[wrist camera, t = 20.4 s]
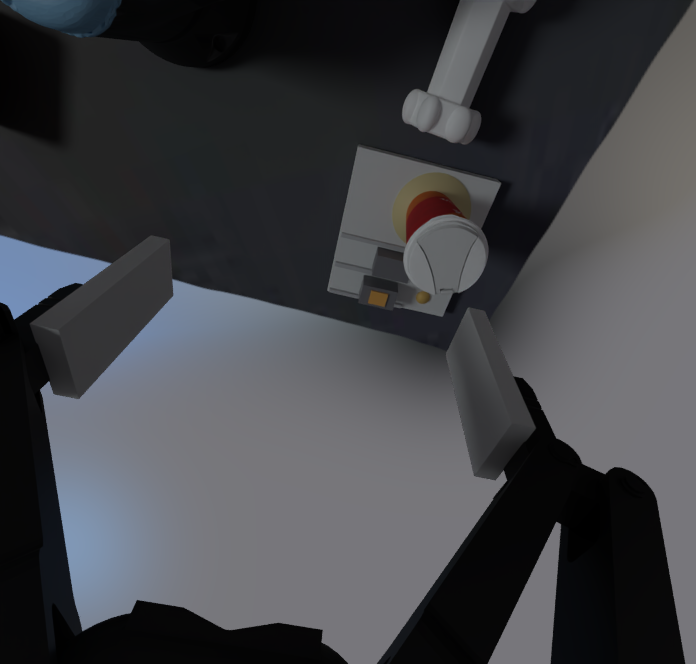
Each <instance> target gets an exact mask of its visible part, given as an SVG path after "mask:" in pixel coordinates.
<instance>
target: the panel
mask: <svg viewBox="0 0 696 664" xmlns="http://www.w3.org/2000/svg"><path fill="white" fill-rule="evenodd" d="M500 185H501V182H499V181H498V180H497V179H494V178H490V177H486V176H482V175H478V174H474V173H471V172H467V171H463V170H459V169H455V168H451V167H447V166H443V165H439V164H435V163H431V162H428V161H424V160H420V159H416V158H412V157H408V156H404V155H400V154H396V153H392V152H388V151H385V150H381V149H377V148H373V147H369V146H365V145H361V144H359V145H358V149H357V154H356V158H355V163H354V168H353V172H352V177H351V182H350V186H349V191H348V196H347V200H346V205H345V210H344V214H343V219H342V224H341V228H340V233H339V238H338V243H337V247H336V252H335V257H334V261H333V266H332V271H331V275H330V280H329V285H328V289H327V291H329V292H331V293H335V294H340V295H344V296H348V297H353V298H357V299H359V291H360V288H361V284H362V280H363V276H364V275H366V276H371V277H375V278H379V279H384V280H388V281H392V282H397V283H398V296H397V298H396V301H395V304H394V307H397V308H401V307H402V308H406V309H411V310H415V311H420V312H424V313H429V314H433V315H437V316H442V317H443V314H444V312H445V310H446V308H447V305H448V303H449V301H450V299H451V296H452V294H446V295H441V294H435V295H433V294H430V293H427V292H425V291H423V290H421V289H420V288H418V287H417V286H415V285H414V284H413V283H412V282H411V280H410V279H409V278H408V276H407V274H406V272H405V268H404V263H403V257H404V251H405V247H406V213H407V209H408V207H409V205H410V203H411V201H412V200H413V199H414V198H415V197H416V196H418V195H419V194H421V193H423V192H427V191H437V192H440V193H442V194H444V195H446V196H447V197H448V198H449V199H450V200H451V201H452V202H453V203H454V204H455V206H456V207H457V208H458V209H459V210H460V211H461V212H462V214H463V215H464V216H465V217H466V218H467V219H468V220H470V221H472V222H473V223H475V224H476V225H477V226H478V227H479V228H480V229H481V228H482V226H483V224H484V221H485V219H486V217H487V215H488V212H489V210H490V208H491V205H492V203H493V201H494V199H495V196H496V194H497V192H498V190H499V187H500Z"/></svg>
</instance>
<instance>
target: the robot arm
mask: <svg viewBox="0 0 696 664" xmlns="http://www.w3.org/2000/svg"><path fill="white" fill-rule="evenodd" d="M1 1H2V2H3V3H5V4H6V5H7V6H10V7H11V8H12V9H13V10H14V11H16V12H18V13H20V14H21V15H23V16H24V17H25V18H27V19H29V20H31V21H33V22H35V23H37V24H39V25H42V26H44V27H48V28H51V29H55V30H58V31H61V32H63V33H67V34H69V35H71V36H77V37H80V38H83V37H104V38H113V39H122V40H131V41H139V42H140V43H141V44H142V45H143V46H145V47H146V48H147V49H148V50H150V51H151V52H152V53H154V54H155V55H157V56H159V57H160V58H162V59H164V60H166V61H169V62H171V63H174V64H177V65H181V66H186V67H209V66H213V65H216V64H219V63H221V62H223V61H225V60H226V59H228V58H229V57H231V56H232V55H233V54H234V53H235V52H236V51H237V50H238V49H239V47H240V46H241V45H242V43H243V42H244V40H245V38H246V37H247V35H248V32H249V30H250V28H251V25H252V22H253V18H254V13H255V8H256V0H1ZM172 296H173V285H172V269H171V254H170V240H169V239H165V238H160V237H156V236H150V237H148V238H147V239H145V240H144V241H143V242H141V243H140V244H139V245H137V246H136V247H134V248H133V249H132V250H130V251H129V252H128V253H126V254H125V255H123V256H122V257H121V258H119V259H118V260H117V261H115V262H114V263H112V264H111V265H110V266H108V267H107V268H106V269H104V270H103V271H101V272H100V273H99V274H97V275H96V276H95V277H93V278H92V279H90V280H89V281H88V282H86V283H85V284H84V285H83V284H78V283H74V284H71V285H68V286H66V287H63V288H60V289H58V290H57V291H55V292H54V293H52V294H51V295H50V296H48V298H45V299H44V300H42V301H41V302H39V304H38V305H35V306H33V307H32V308H31V309H29V310H28V311H27V312H25V313H23V314H22V315H21V316H19V317H18V318H16V319H15V320H14V319H13V316H12V314H11V311H10V309H9V308H8V306H7V305H5V304H3V303H0V664H348V663H347V662H346V661H345V660H344V659H343V658H342V657H341V656H340V655H339V654H338V653H337V652H335V651H334V650H333V649H331V648H330V647H329V646H327V645H325V644H323V643H321V641H322V631H323V630H320V629H313V628H307V627H301V626H294V625H289V624H282V623H274V624H268V625H261V626H255V627H249V628H242V629H237V630H225V629H223V628H221V627H218V626H217V625H215V624H213V623H211V622H210V621H208V620H206V619H204V618H202V617H200V616H198V615H196V614H194V613H193V612H191V611H189V610H187V609H185V608H182V607H176V606H170V605H164V604H158V603H152V602H146V601H139V600H137V601H136V603H135V606H134V608H133V610H132V612H131V613H130V614H124V615H121V616H117V617H113V618H110V619H108V620H105V621H103V622H100V623H98V624H96V625H94V626H92V627H90V628H88V629H86V630H84V631H82V627H81V623H80V619H79V616H78V612H77V609H76V606H75V601H74V597H73V591H72V584H71V579H70V571H69V565H68V558H67V552H66V546H65V539H64V533H63V526H62V520H61V513H60V507H59V500H58V494H57V488H56V481H55V475H54V468H53V462H52V455H51V449H50V442H49V437H48V430H47V423H46V417H45V411H44V404H43V398H42V394H41V392H40V389H41V388H42V387H43V386H44V385H45V384H46V383H47V382H48V381H49V382H50V385H51V387H52V390H53V393H54V394H55V395H60V396H66V397H71V398H76V399H79V398H80V397H81V396H82V395H83V394H84V393H85V392H86V390H87V389H88V388H89V387H90V386H91V385H92V384H93V383H94V382H95V381H96V380H97V379H98V377H99V376H100V375H101V374H102V373H103V372H104V371H105V370H106V369H107V368H108V366H109V365H110V364H111V363H112V362H113V361H114V360H115V359H116V358H117V356H118V355H119V354H120V353H121V352H122V351H123V350H124V349H125V348H126V347H127V346H128V345H129V343H130V342H131V341H132V340H133V339H134V338H135V337H136V336H137V335H138V334H139V332H140V331H141V330H142V329H143V328H144V327H145V326H146V325H147V324H148V323H149V321H150V320H151V319H152V318H153V317H154V316H155V315H156V314H157V313H158V311H159V310H160V309H161V308H162V307H163V306H164V305H165V304H166V303H167V302H168V301H169V299H170V298H171V297H172ZM446 358H447V362H448V366H449V371H450V375H451V379H452V383H453V387H454V392H455V396H456V401H457V404H458V409H459V413H460V418H461V422H462V426H463V431H464V435H465V439H466V443H467V447H468V452H469V456H470V460H471V464H472V469H473V473H474V476H476V477H481V478H487V479H492V480H496V479H497V478H498V477H499V475H500V474H501V473H502V471H503V470H504V472H505V475H506V478H507V482H506V483H505V484H504V485H503V487H502V488H501V489H500V490H499V491H498V493H497V494H496V495H495V496H494V498H493V501H492V502H491V504H490V505H489V507H488V508H487V509H486V511H485V512H484V514H483V515H482V516H481V518H480V519H479V521H478V522H477V523H476V525H475V526H474V528H473V529H472V531H471V532H470V533H469V535H468V536H467V538H466V539H465V540H464V542H463V543H462V545H461V546H460V548H459V549H458V551H457V552H456V553H455V555H454V556H453V558H452V559H451V560H450V562H449V563H448V565H447V566H446V567H445V569H444V571H443V572H442V573H441V575H440V576H439V578H438V579H437V580H436V582H435V583H434V585H433V586H432V588H431V589H430V590H429V592H428V593H427V595H426V596H425V597H424V599H423V600H422V602H421V603H420V605H419V606H418V607H417V609H416V610H415V612H414V613H413V614H412V616H411V617H410V619H409V620H408V622H407V623H406V625H405V626H404V627H403V629H402V630H401V631H400V633H399V634H398V636H397V637H396V639H395V640H394V641H393V643H392V644H391V646H390V647H389V648H388V650H387V651H386V653H385V654H384V655H383V656H382V658H381V659H380V660H379V662H378V663H377V664H488V662H489V659H490V657H491V656H492V653H493V651H494V649H495V647H496V645H497V643H498V641H499V639H500V637H501V635H502V633H503V631H504V629H505V626H506V625H507V622H508V620H509V618H510V616H511V614H512V612H513V610H514V608H515V606H516V604H517V602H518V600H519V597H520V595H521V593H522V591H523V589H524V587H525V585H526V583H527V581H528V579H529V577H530V575H531V573H532V571H533V569H534V567H535V565H536V563H537V560H538V558H539V556H540V554H541V552H542V550H543V548H544V546H545V544H546V542H547V540H548V538H549V536H550V534H551V532H552V529H553V527H554V525H555V523H556V522H558V523H560V524H561V535H560V548H559V560H558V561H559V562H558V574H557V587H556V600H555V613H554V627H553V640H552V653H551V654H552V655H551V664H685V660H684V654H683V648H682V642H681V636H680V631H679V625H678V620H677V614H676V608H675V602H674V597H673V591H672V585H671V579H670V575H669V568H668V563H667V557H666V551H665V545H664V539H663V534H662V528H661V522H660V517H659V511H658V505H657V500H656V497H655V495H654V492H653V491H652V490H651V488H650V487H649V486H648V485H647V483H646V482H645V481H644V480H642V479H641V478H640V477H639V476H637V475H636V474H634V473H633V472H631V471H629V470H626V469H623V468H618V467H614V468H612V469H610V470H609V471H608V472H607V473H606V474H603V473H600V472H598V471H596V470H594V469H592V468H590V467H587V466H585V465H583V464H582V462H581V460H580V457H579V456H578V454H577V453H576V452H575V451H574V450H573V449H572V448H571V447H570V446H569V445H568V444H566V443H564V442H563V441H561V440H559V439H556V437H555V435H554V433H553V431H552V428H551V426H550V424H549V422H548V420H547V418H546V416H545V414H544V412H543V410H541V406H540V404H539V402H538V401H537V397H536V395H535V393H534V391H533V389H532V388H531V387H530V386H529V385H528V383H527V382H526V381H525V380H524V379H523V378H519V377H514V376H513V375H512V372H511V370H510V368H509V366H508V363H507V361H506V359H505V356H504V354H503V352H502V350H501V348H500V345H499V343H498V341H497V338H496V336H495V334H494V331H493V329H492V327H491V325H490V322H489V320H488V318H487V315H486V313H485V311H482V310H477V309H473V308H469V307H468V309H467V311H466V313H465V315H464V317H463V319H462V321H461V324H460V326H459V328H458V330H457V332H456V334H455V336H454V338H453V340H452V342H451V344H450V347H449V349H448V351H447V353H446Z"/></svg>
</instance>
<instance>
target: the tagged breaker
mask: <svg viewBox="0 0 696 664" xmlns="http://www.w3.org/2000/svg"><path fill="white" fill-rule="evenodd" d="M397 296H398V283H397V282H392V281H388V280H384V279H379V278H375V277H371V276H366V275H364V276H363V280H362V284H361V288H360V291H359V299H358V303H360V304H365V305H369V306H373V307H378V308H382V309H387V310H391V311H392V310H393V307H394V304H395V301H396V298H397Z"/></svg>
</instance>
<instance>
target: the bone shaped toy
mask: <svg viewBox="0 0 696 664" xmlns="http://www.w3.org/2000/svg"><path fill="white" fill-rule="evenodd" d="M535 2H536V0H460V2H459V5H458V7H457V10H456V13H455V16H454V19H453V21H452V24H451V27H450V30H449V33H448V35H447V38H446V41H445V44H444V47H443V49H442V52H441V55H440V58H439V60H438V63H437V66H436V69H435V72H434V74H433V77H432V80H431V83H430V86H429V88H428V91H427V93H426V92H424V91H421V90H420V89H415V90H413V91H411V92H410V93H409V95H408V96H407V98H406V100H405V102H404V105H403V110H402V117H403V120H404V122H405V123H407V124H411V125H413V126H415V127H417V128H418V129H419V130H420V131H421V132H428V133H431V134H434V135H437V136H439V137H442V138H445V139H447V140H448V141H449V142H451V143H457V142H460V143H461V144H468V143H470V142H471V141H472V140H473V139H474V138H475V136H476V134H477V133H478V130H479V128H480V125H481V114H480V113H479V112H478V111H476V110H472V109H469V108H470V105H471V103H472V100H473V98H474V96H475V93H476V91H477V89H478V86H479V84H480V82H481V79H482V77H483V74H484V72H485V70H486V67H487V65H488V63H489V60H490V58H491V56H492V53H493V51H494V48H495V46H496V44H497V41H498V39H499V37H500V34H501V32H502V30H503V27H504V25H505V22H506V20H507V18H508V15H509V13H510V12H519V13H525V12H527V11H528V10H530V9H531V8H532V6H533V5H534V4H535Z"/></svg>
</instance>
